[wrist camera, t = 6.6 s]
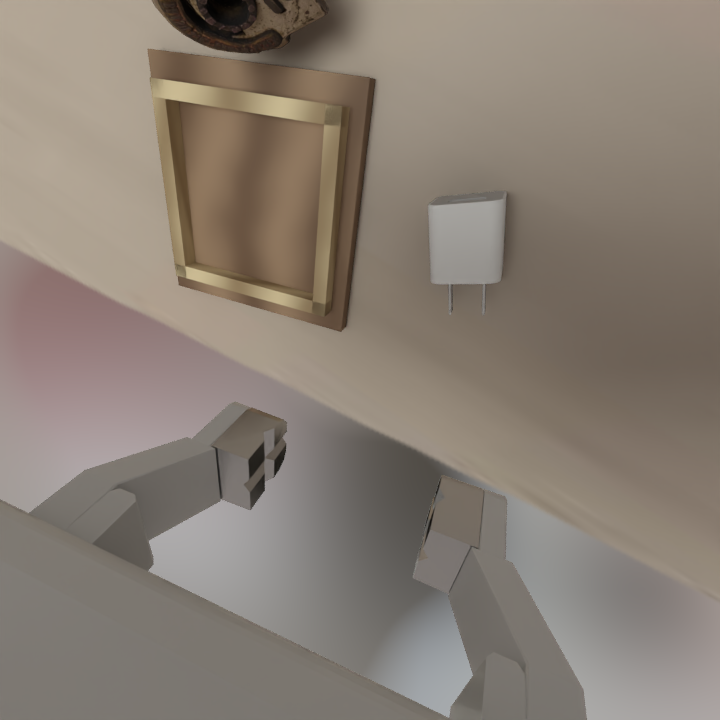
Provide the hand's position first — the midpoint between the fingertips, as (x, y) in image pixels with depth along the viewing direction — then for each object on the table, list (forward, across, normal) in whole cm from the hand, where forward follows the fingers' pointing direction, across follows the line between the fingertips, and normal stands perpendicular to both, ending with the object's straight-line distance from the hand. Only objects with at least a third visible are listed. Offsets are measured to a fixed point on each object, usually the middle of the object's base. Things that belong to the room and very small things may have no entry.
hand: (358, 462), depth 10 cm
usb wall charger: (+20, -1, -1) cm, 20 cm away
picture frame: (+19, +14, -1) cm, 24 cm away
